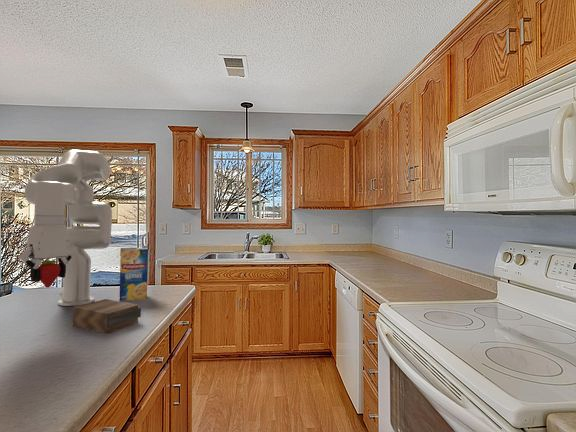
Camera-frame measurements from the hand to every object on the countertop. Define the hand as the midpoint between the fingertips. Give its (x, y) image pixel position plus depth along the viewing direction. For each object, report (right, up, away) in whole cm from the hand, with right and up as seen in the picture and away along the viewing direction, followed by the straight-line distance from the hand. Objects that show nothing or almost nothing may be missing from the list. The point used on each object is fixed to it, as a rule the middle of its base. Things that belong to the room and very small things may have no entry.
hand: (48, 278), depth 101 cm
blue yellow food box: (+5, -17, +44) cm, 47 cm away
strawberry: (0, -3, 0) cm, 3 cm away
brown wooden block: (+13, -17, +9) cm, 23 cm away
